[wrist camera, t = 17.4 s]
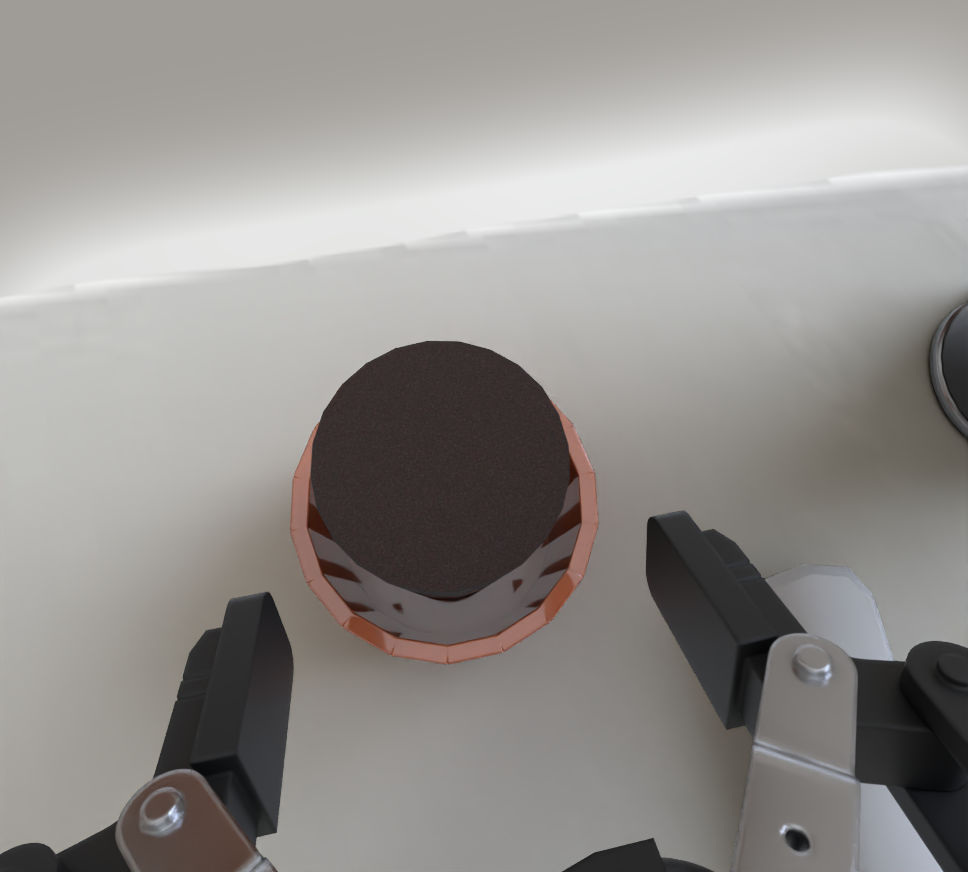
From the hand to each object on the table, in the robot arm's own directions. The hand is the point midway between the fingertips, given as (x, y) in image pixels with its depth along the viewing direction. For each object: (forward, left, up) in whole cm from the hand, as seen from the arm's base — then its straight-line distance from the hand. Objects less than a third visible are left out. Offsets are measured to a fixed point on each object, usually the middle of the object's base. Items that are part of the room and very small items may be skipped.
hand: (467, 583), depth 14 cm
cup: (-2, -2, -16) cm, 17 cm away
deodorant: (-2, -2, -16) cm, 16 cm away
